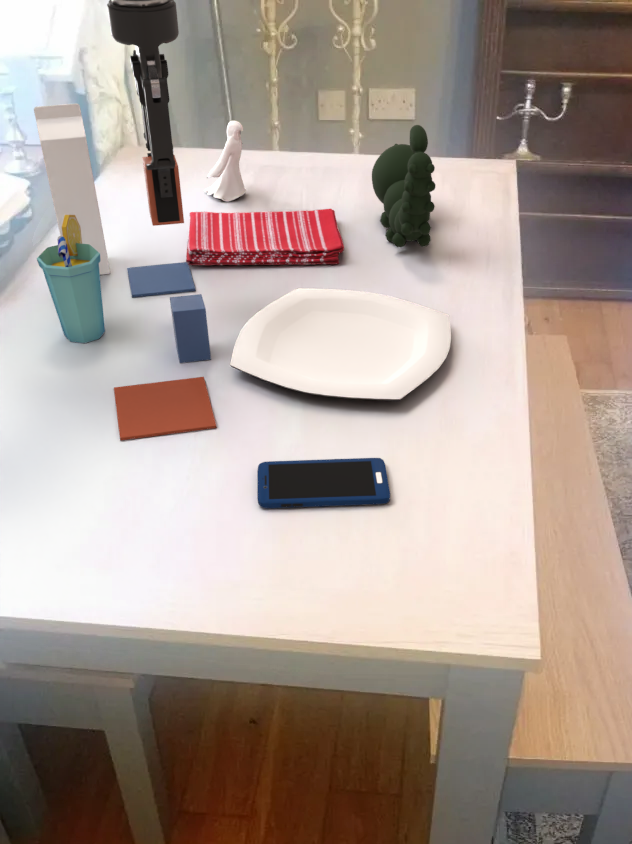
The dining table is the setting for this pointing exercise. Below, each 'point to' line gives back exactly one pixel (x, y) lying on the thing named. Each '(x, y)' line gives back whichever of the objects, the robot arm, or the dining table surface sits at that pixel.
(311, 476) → the cell phone
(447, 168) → the dining table surface
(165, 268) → the blue mat
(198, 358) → the blue block
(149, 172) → the terracotta block
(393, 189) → the toy figurine
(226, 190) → the figurine
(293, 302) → the plate
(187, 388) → the terracotta mat
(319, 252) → the dish towel
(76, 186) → the milk
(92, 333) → the cup
